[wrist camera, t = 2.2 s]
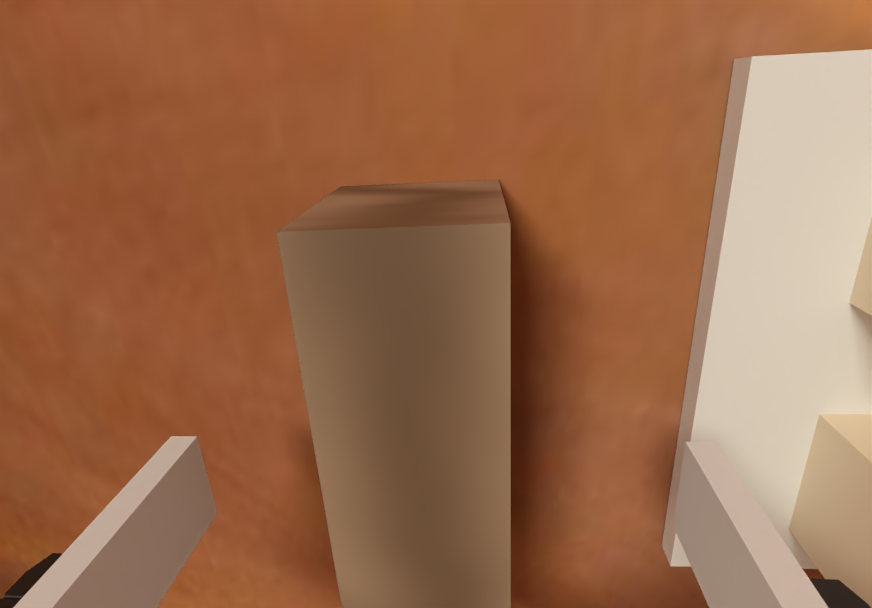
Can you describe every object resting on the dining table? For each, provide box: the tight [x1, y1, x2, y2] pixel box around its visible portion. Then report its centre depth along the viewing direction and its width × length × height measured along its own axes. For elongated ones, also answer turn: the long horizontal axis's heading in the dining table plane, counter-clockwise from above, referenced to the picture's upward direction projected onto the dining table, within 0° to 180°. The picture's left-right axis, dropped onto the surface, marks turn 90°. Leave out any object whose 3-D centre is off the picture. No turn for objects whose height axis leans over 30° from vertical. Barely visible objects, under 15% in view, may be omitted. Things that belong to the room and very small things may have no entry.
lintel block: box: [276, 179, 511, 608], centre depth 16 cm, size 5×14×6 cm, turn 3°
